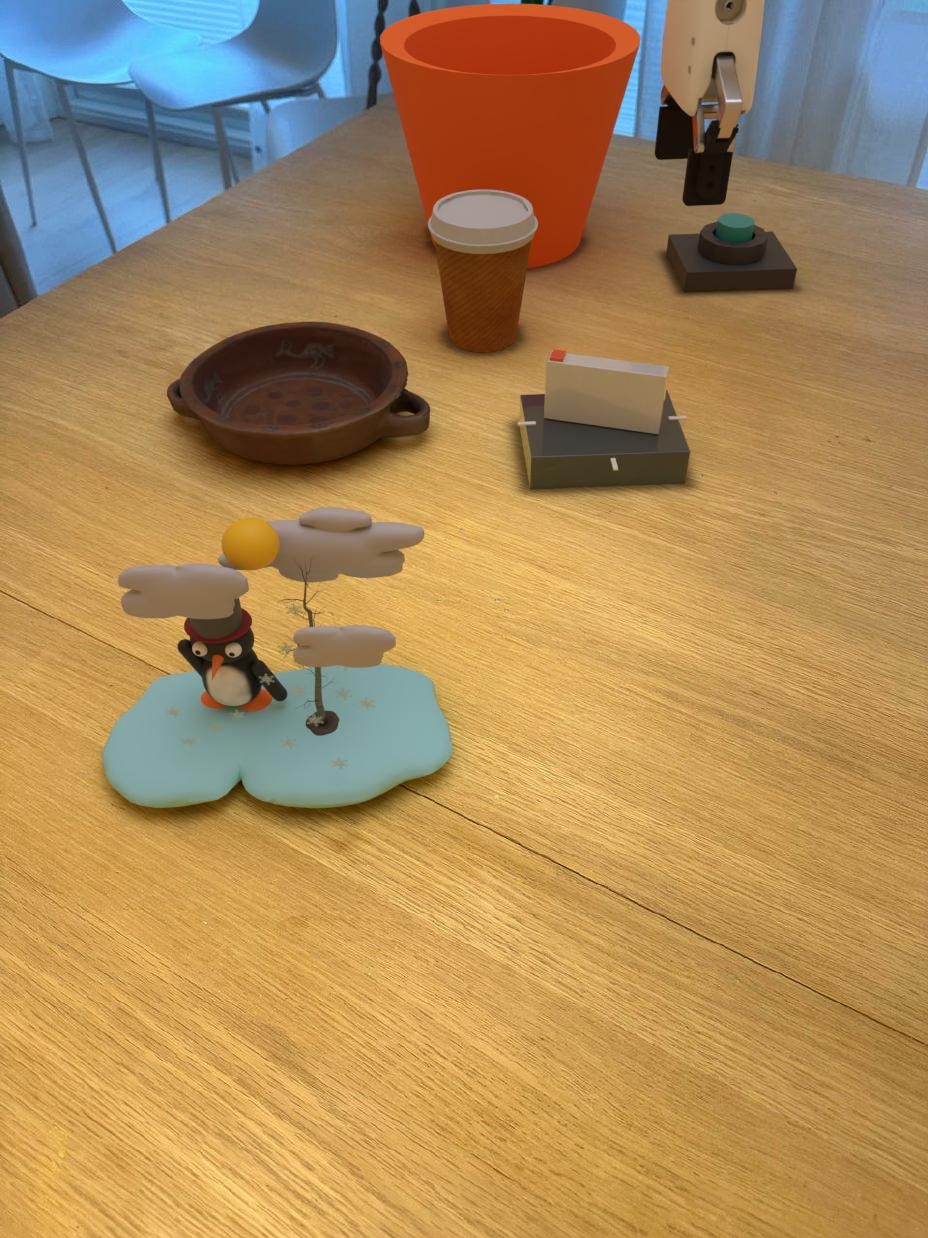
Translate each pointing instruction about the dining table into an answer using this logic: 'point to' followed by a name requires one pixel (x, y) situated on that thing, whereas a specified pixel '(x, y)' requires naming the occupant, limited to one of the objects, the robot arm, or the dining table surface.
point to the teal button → (735, 227)
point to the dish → (300, 392)
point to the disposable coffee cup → (482, 264)
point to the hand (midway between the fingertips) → (687, 179)
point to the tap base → (599, 451)
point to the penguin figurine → (276, 680)
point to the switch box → (730, 262)
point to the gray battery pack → (605, 392)
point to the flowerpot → (512, 106)
